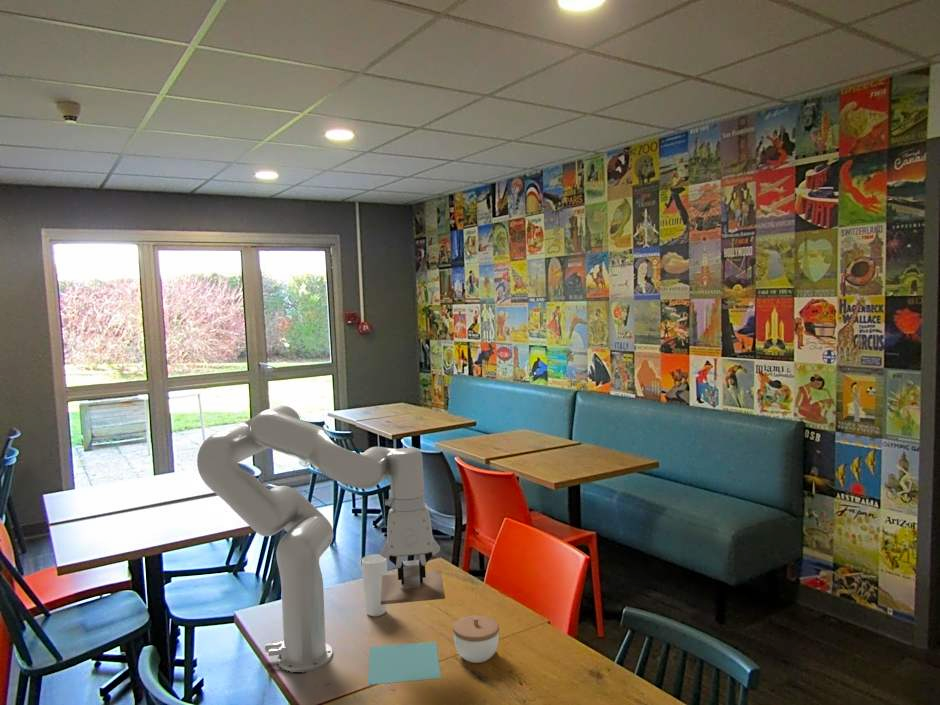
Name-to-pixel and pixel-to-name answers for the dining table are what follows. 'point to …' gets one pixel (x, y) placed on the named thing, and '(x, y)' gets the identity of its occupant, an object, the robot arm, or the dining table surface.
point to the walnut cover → (412, 585)
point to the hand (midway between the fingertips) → (412, 580)
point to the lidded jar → (476, 637)
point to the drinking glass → (373, 583)
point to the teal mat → (403, 663)
